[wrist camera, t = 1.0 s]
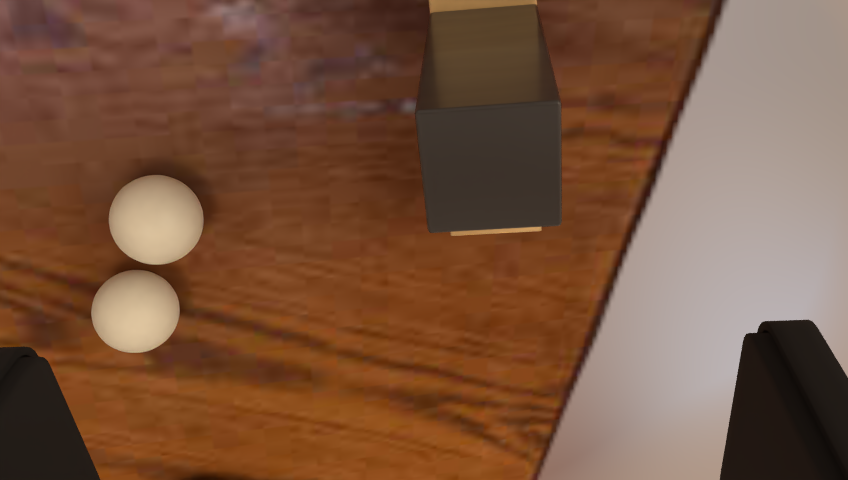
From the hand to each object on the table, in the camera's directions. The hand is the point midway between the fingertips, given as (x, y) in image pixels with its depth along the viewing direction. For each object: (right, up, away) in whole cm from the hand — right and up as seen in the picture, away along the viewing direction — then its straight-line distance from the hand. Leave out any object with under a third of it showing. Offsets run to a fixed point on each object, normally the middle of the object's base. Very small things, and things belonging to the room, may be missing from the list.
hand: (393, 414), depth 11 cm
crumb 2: (-11, 0, +20) cm, 22 cm away
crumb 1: (-9, +3, +17) cm, 20 cm away
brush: (+2, +9, +14) cm, 17 cm away
